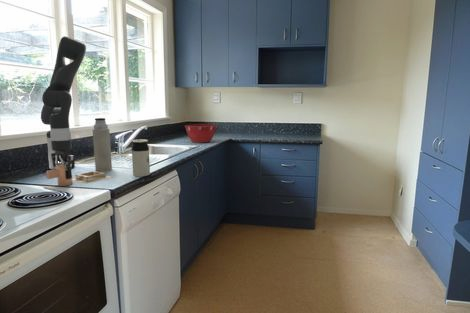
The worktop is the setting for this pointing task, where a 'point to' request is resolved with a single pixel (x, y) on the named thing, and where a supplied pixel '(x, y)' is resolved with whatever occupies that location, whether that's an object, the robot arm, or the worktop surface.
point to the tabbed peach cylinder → (59, 175)
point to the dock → (90, 177)
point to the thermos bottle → (102, 145)
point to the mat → (51, 189)
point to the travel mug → (140, 158)
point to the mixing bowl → (200, 132)
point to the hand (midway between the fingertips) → (64, 177)
